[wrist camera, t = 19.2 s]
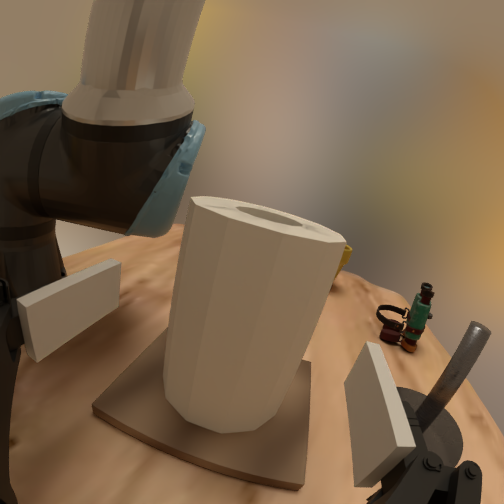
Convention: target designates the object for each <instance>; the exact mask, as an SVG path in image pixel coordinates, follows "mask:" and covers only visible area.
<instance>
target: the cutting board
mask: <svg viewBox="0 0 504 504" xmlns="http://www.w3.org/2000/svg"><path fill="white" fill-rule="evenodd" d="M167 332H168V327H167V328H166V329H165V330H164V332H163V333H162V334H161V335H160V336H159V337H158V338H157V339H156V340H155V341H154V342H153V343H152V344H151V345H150V346H149V347H148V348H147V349H146V350H145V351H144V352H143V353H142V354H141V355H140V356H139V357H138V358H137V359H136V360H135V361H134V362H133V363H132V364H131V365H130V366H129V367H128V368H127V369H126V370H125V371H124V372H123V373H122V374H121V375H120V376H119V377H118V378H117V379H116V380H115V381H114V382H113V383H112V384H111V385H110V386H109V387H108V388H107V389H106V390H105V391H104V392H103V393H102V394H101V395H100V396H99V397H98V398H97V399H96V400H95V401H94V402H93V403H92V409H93V413H94V414H95V415H97V416H98V417H100V418H102V419H103V420H105V421H106V422H108V423H110V424H111V425H113V426H115V427H117V428H118V429H120V430H122V431H124V432H125V433H127V434H129V435H131V436H133V437H135V438H137V439H139V440H141V441H143V442H145V443H147V444H149V445H151V446H153V447H155V448H157V449H159V450H161V451H164V452H166V453H168V454H171V455H173V456H175V457H178V458H180V459H183V460H185V461H188V462H190V463H193V464H196V465H198V466H201V467H204V468H207V469H210V470H213V471H216V472H219V473H222V474H225V475H229V476H232V477H236V478H239V479H243V480H247V481H251V482H255V483H259V484H264V485H268V486H273V487H278V488H284V489H290V490H296V491H298V490H299V489H300V488H301V487H302V486H303V485H304V482H305V472H306V460H307V447H308V432H309V414H310V388H311V362H309V361H305V360H301V362H300V365H299V367H298V369H297V371H296V373H295V376H294V378H293V380H292V382H291V384H290V386H289V388H288V390H287V392H286V395H285V397H284V399H283V401H282V403H281V405H280V407H279V409H278V411H277V413H276V415H275V416H273V417H272V418H271V419H269V420H268V421H267V422H265V423H264V424H263V425H261V426H260V427H259V428H257V429H256V430H254V431H245V432H234V433H218V432H215V431H212V430H209V429H207V428H204V427H201V426H198V425H196V424H193V423H191V422H188V421H186V420H185V419H184V418H183V417H182V416H181V415H180V414H179V412H178V411H177V410H176V409H175V408H174V407H173V406H172V405H171V404H170V403H169V402H168V400H167V399H166V398H165V390H164V381H163V369H164V358H165V349H166V340H167Z"/></svg>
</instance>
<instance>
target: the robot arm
mask: <svg viewBox="0 0 504 504" xmlns="http://www.w3.org/2000/svg"><path fill="white" fill-rule="evenodd" d="M204 3H205V0H94V1H93V5H92V9H91V13H90V18H89V23H88V28H87V33H86V39H85V45H84V52H83V59H82V68H81V78H80V82H79V83H78V85H77V86H76V88H74V89H73V90H72V92H71V93H70V94H69V95H68V94H65V93H61V92H56V91H41V92H37V91H25V92H19V93H14V94H10V95H7V96H5V97H2V98H0V504H18V502H17V499H16V496H15V493H14V491H13V489H12V487H11V484H10V478H9V431H10V418H11V408H12V400H13V393H14V386H15V380H16V375H17V369H18V365H19V360H20V355H21V348H20V346H21V345H23V344H25V347H26V351H27V354H28V355H29V356H30V357H31V358H32V359H33V360H34V361H36V362H37V363H38V362H39V361H41V360H42V359H43V358H45V357H46V356H48V355H49V354H51V353H52V352H53V351H55V350H56V349H58V348H59V347H60V346H62V345H63V344H65V343H66V342H68V341H69V340H71V339H72V338H73V337H75V336H76V335H78V334H79V333H81V332H82V331H84V330H85V329H86V328H88V327H89V326H91V325H92V324H94V323H95V322H97V321H98V320H100V319H101V318H103V317H104V316H106V315H107V314H109V313H110V312H112V311H113V310H115V309H116V308H118V307H119V290H120V275H121V262H119V261H116V260H114V259H108V260H106V261H103V262H101V263H98V264H96V265H94V266H91V267H89V268H86V269H84V270H81V271H79V272H77V273H74V274H72V275H70V276H67V274H66V270H65V268H64V264H63V260H62V257H61V254H60V250H59V246H58V243H57V238H56V234H55V225H56V219H57V220H61V221H65V222H70V223H74V224H79V225H84V226H88V227H92V228H97V229H101V230H106V231H110V232H115V233H119V234H124V235H125V236H130V235H136V236H144V237H151V238H156V237H160V236H163V235H165V234H166V233H167V232H168V231H169V230H170V229H171V227H172V224H173V222H174V219H175V217H176V214H177V211H178V208H179V205H180V202H181V199H182V196H183V193H184V190H185V187H186V184H187V181H188V178H189V175H190V172H191V170H192V167H193V164H194V161H195V159H196V157H197V154H198V151H199V148H200V146H201V143H202V140H203V137H204V134H205V131H206V128H205V126H204V125H203V124H200V123H199V122H198V121H196V120H194V121H191V118H192V114H193V109H194V105H195V102H194V99H193V97H192V96H191V95H190V93H189V92H188V91H187V89H186V88H185V87H184V85H183V83H182V78H183V73H184V70H185V66H186V62H187V58H188V54H189V51H190V47H191V44H192V40H193V36H194V33H195V30H196V27H197V24H198V21H199V17H200V14H201V11H202V8H203V5H204ZM344 387H345V394H346V402H347V410H348V418H349V428H350V437H351V448H352V461H353V475H354V487H373V486H374V485H375V484H377V483H378V482H379V481H380V480H381V485H382V488H381V489H379V490H378V491H377V492H375V493H374V494H373V495H372V496H370V497H369V498H368V499H366V500H367V501H368V502H367V504H480V502H481V489H482V472H481V469H480V467H479V466H478V465H477V464H476V463H475V462H473V461H468V460H467V461H464V462H463V463H462V464H461V465H459V466H458V467H457V468H453V467H448V466H444V464H443V461H442V459H441V458H440V457H439V456H438V455H437V454H436V453H434V452H431V451H428V449H427V446H426V443H425V440H424V437H423V434H422V431H421V428H420V427H419V423H418V420H417V417H416V414H415V412H414V409H413V408H412V407H411V406H410V404H409V403H408V402H407V401H401V399H400V396H399V393H398V391H397V388H396V385H395V383H394V380H393V377H392V375H391V372H390V369H389V367H388V364H387V362H386V359H385V357H384V354H383V352H382V349H381V347H380V345H379V344H376V343H372V342H368V341H366V343H365V345H364V347H363V349H362V350H361V352H360V354H359V356H358V358H357V360H356V362H355V364H354V366H353V368H352V369H351V371H350V373H349V375H348V377H347V378H346V380H345V382H344Z"/></svg>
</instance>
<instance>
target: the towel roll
mask: <svg viewBox="0 0 504 504" xmlns="http://www.w3.org/2000/svg"><path fill="white" fill-rule="evenodd" d="M345 245H346V241H345V239H344V238H343V237H342V235H340V234H338V233H336V232H334V231H332V230H330V229H328V228H326V227H324V226H322V225H320V224H317V223H314V222H311V221H309V220H306V219H303V218H300V217H297V216H295V215H291V214H288V213H285V212H281V211H278V210H274V209H271V208H267V207H264V206H260V205H255V204H251V203H246V202H241V201H237V200H232V199H224V198H217V197H209V196H201V197H191V198H190V203H189V207H188V212H187V217H186V222H185V227H184V232H183V237H182V242H181V247H180V253H179V259H178V264H177V270H176V276H175V282H174V289H173V295H172V302H171V309H170V316H169V324H168V332H167V340H166V349H165V358H164V369H163V381H164V390H165V398H166V399H167V400H168V402H169V403H170V404H171V405H172V406H173V407H174V408H175V409H176V410H177V411H178V412H179V414H180V415H181V416H182V417H183V418H184V419H185V420H186V421H188V422H191V423H193V424H196V425H198V426H201V427H204V428H207V429H209V430H212V431H215V432H218V433H234V432H245V431H254V430H256V429H257V428H259V427H260V426H261V425H263V424H264V423H265V422H267V421H268V420H269V419H271V418H272V417H273V416H275V415H276V413H277V411H278V409H279V407H280V405H281V403H282V401H283V399H284V397H285V395H286V392H287V390H288V388H289V386H290V384H291V382H292V380H293V378H294V376H295V373H296V371H297V369H298V367H299V365H300V362H301V360H302V358H303V356H304V353H305V351H306V349H307V346H308V344H309V342H310V339H311V337H312V335H313V332H314V330H315V327H316V325H317V322H318V320H319V317H320V315H321V312H322V310H323V307H324V305H325V302H326V299H327V297H328V294H329V291H330V289H331V286H332V283H333V280H334V278H335V275H336V272H337V269H338V266H339V263H340V260H341V258H342V255H343V252H344V249H345Z"/></svg>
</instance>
